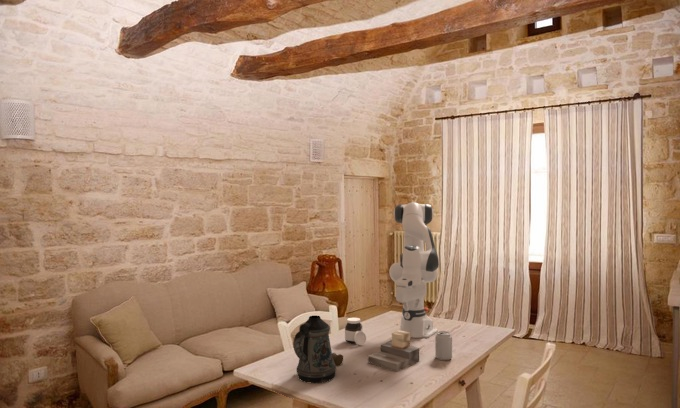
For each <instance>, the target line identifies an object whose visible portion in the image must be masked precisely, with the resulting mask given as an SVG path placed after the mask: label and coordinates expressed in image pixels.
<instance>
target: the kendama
mask: <svg viewBox="0 0 680 408" xmlns="http://www.w3.org/2000/svg"><path fill="white" fill-rule="evenodd" d="M332 356H333V360H334V363H335V365H336V367H339V366H341V365H342V364H343V362H344V356H343V354H341V353H340V354H337V353H335V352H332Z"/></svg>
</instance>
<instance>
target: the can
mask: <svg viewBox="0 0 680 408" xmlns="http://www.w3.org/2000/svg"><path fill="white" fill-rule="evenodd" d="M434 339H435V347H434V348H435V350H434V351H435V357H436V358H437V359H438V360H440V361H449V360H451V359H452V358H453V336H452V333H451V332H449V331H448V330H447V331H446V330H438V331H437V332H436V335H435V337H434Z"/></svg>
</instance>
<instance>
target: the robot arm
mask: <svg viewBox="0 0 680 408" xmlns="http://www.w3.org/2000/svg"><path fill="white" fill-rule="evenodd" d="M434 213H435V211H434V208H433V206H432V205H431V204H427V203H424V204H423V203H418V202H413V201H412V202H408V203H407V204H406V203H405V204H397V205H396V206H395V207H394V210H393V218H394V220H395V222H396V223H399V224H402V230H403V231H404V232H403V251H402V253H401V254H400V255H399V258H400V261H399V262H394V263H392V264H391V266H389V267H390V268H389V271H388V272H389V273H388V274H389V277H390V278H391V280H392V281H393V282H394V283H395V286H396V289H395V300H396V302H397V303H400V304H402V310H401V313H402V316H401V319H400V328H399V329H398V331H399V330H400V331H405V332H409V333H410V338H414V339H415V338H416V339H417V338H419V339H421V338H424V339H425V338H427V339H428V338H430V337H431V336H433V335H434V334H435V333H436V334H437V332H438V331H439V330H438V328H436V327H434V321H433V319H431V318H430V317H429V316H428V315H427V313H428V312H429V308H428V307H424V305H425V302H424V301H425V298H426V297H427V294H428V292H427V285H426V284H427V283H433V282H435V281H436V280H437V278H438V276H439V275H438V274H439V271H438V268H439V266H440V258H439V254H438V252H437V250H436V249H437V248H436V245H435V242H434V237H433V234H432V231H431V230H432V229H431V228H430V227H429V226H428V224H430V223H431V222H432V220H433V218H434V215H435V214H434ZM424 243H425V245H424ZM424 246H426V250H425V247H424Z"/></svg>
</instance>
